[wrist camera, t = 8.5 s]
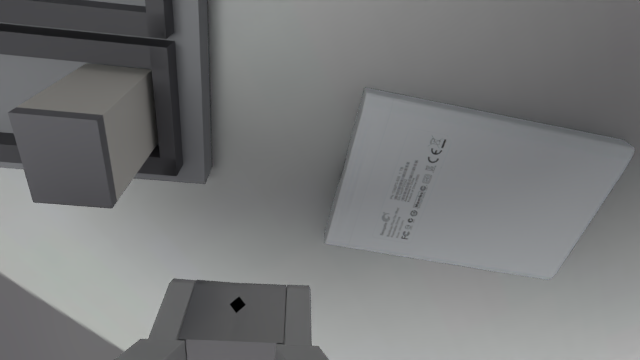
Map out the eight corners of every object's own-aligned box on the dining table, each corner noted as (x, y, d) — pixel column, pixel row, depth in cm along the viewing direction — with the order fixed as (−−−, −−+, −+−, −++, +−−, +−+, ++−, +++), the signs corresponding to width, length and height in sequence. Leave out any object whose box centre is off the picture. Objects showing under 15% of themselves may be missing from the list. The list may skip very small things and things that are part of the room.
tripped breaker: (152, 69, 16) (96, 120, 12) (158, 141, 18) (112, 208, 14) (86, 63, 16) (7, 112, 12) (99, 136, 18) (33, 202, 14)
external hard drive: (537, 262, 25) (323, 228, 23) (617, 133, 20) (362, 81, 19) (550, 283, 23) (323, 248, 22) (639, 149, 19) (366, 94, 18)
